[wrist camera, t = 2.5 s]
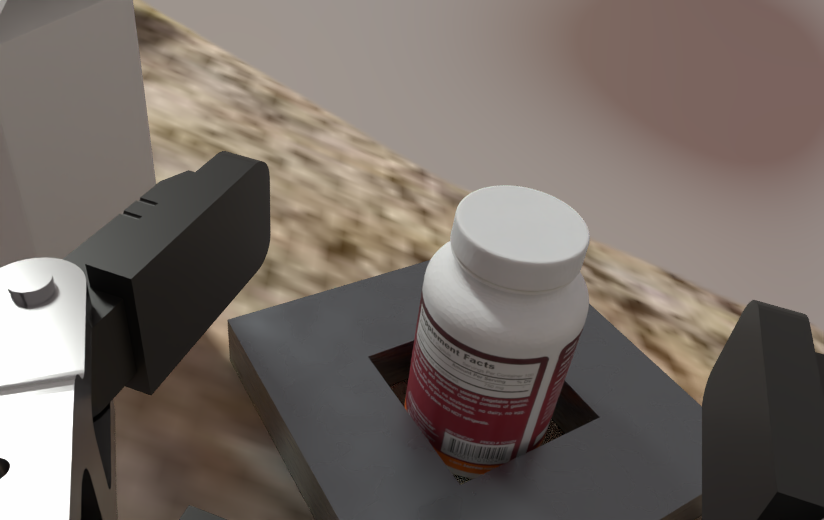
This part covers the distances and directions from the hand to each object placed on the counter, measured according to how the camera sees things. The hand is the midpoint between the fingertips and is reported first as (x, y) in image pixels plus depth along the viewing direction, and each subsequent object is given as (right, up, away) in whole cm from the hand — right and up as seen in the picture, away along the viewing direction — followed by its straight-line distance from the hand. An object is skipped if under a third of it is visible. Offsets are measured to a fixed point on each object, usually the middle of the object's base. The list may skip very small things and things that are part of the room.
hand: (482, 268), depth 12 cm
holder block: (+1, -7, +19) cm, 21 cm away
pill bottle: (+1, -7, +19) cm, 21 cm away
